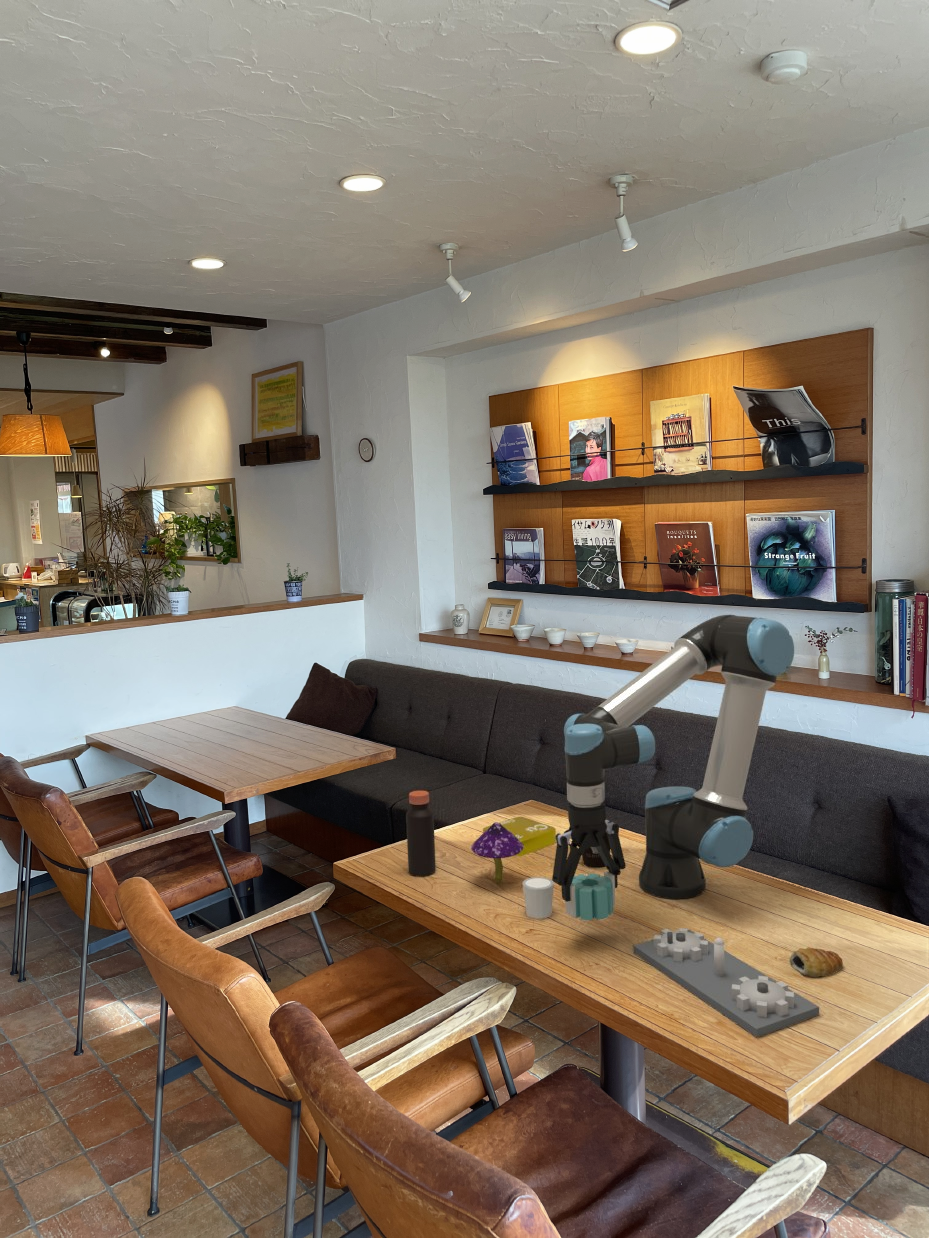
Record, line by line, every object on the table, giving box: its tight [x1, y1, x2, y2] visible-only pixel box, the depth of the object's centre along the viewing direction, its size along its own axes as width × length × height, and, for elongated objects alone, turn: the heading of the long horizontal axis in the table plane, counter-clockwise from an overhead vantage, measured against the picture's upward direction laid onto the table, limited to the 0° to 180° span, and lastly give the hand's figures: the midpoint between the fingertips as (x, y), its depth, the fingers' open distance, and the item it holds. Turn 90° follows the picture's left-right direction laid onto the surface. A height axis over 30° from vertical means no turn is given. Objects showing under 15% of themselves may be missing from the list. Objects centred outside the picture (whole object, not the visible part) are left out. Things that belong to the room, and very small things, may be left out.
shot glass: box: [521, 876, 555, 920], centre depth 200 cm, size 7×7×7 cm
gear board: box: [632, 927, 820, 1038], centre depth 168 cm, size 14×34×8 cm, turn 26°
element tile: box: [482, 816, 557, 857], centre depth 244 cm, size 15×15×5 cm
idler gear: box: [572, 873, 614, 921], centre depth 185 cm, size 9×9×6 cm
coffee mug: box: [563, 819, 611, 869], centre depth 228 cm, size 12×9×10 cm
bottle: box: [405, 790, 437, 877], centre depth 225 cm, size 7×7×20 cm
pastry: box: [789, 946, 844, 978], centre depth 172 cm, size 9×7×4 cm
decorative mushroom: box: [470, 821, 524, 884], centre depth 216 cm, size 12×12×15 cm
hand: (590, 909), depth 185 cm, fingers closed on idler gear, 9 cm apart
